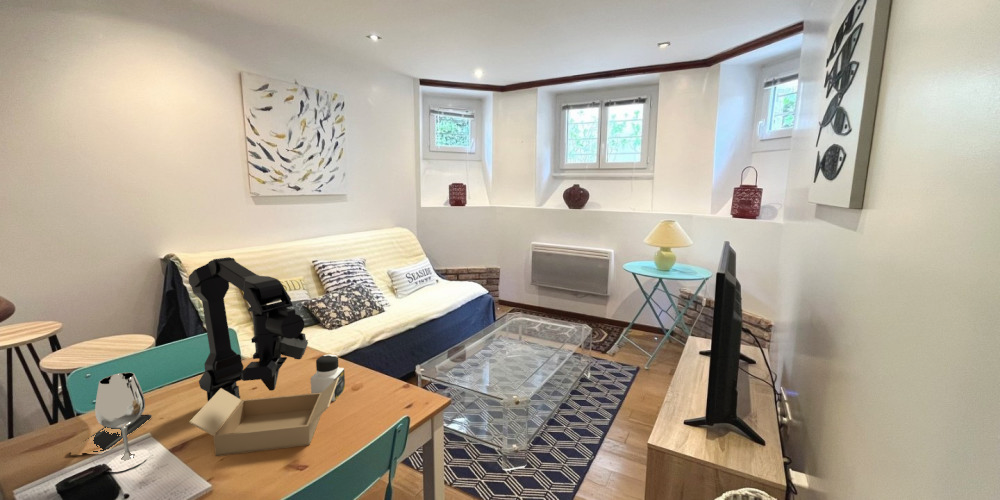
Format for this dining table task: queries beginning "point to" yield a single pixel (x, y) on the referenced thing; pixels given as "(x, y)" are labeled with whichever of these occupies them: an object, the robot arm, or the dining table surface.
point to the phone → (109, 440)
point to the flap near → (215, 412)
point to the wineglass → (119, 404)
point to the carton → (268, 424)
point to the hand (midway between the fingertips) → (272, 389)
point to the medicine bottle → (328, 375)
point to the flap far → (324, 400)
